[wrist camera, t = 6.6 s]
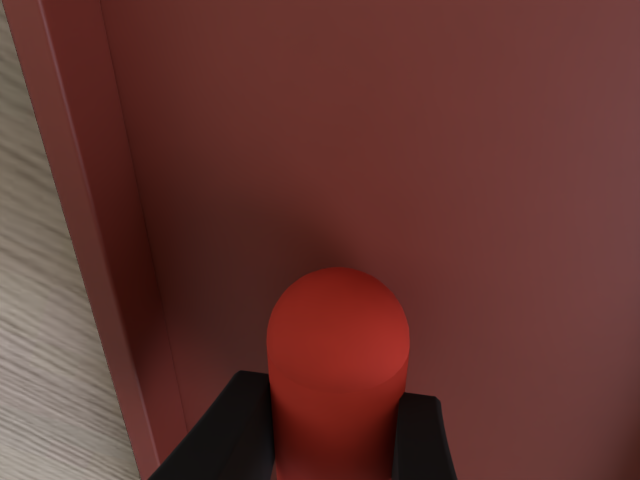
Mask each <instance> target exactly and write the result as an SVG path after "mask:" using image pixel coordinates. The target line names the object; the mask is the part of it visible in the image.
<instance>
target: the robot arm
mask: <svg viewBox="0 0 640 480" xmlns="http://www.w3.org/2000/svg"><path fill="white" fill-rule="evenodd" d="M274 461H275V447H274V434H273V421H272V408H271V395H270V382H269V374H266V373H259V372H251V371H244V370H239V371H238V372H237V373H235V374H234V375H233V377H232V378H231V379H230V381H229V382H228V384H227V385H226V386H225V388H224V389H223V390H222V392H221V393H220V394H219V395H218V397H217V398H216V399H215V401H214V402H213V403H212V404H211V406H210V407H209V408H208V410H207V411H206V412H205V413H204V415H203V416H202V417H201V418H200V419H199V421H198V422H197V423H196V424H195V426H194V427H193V428H192V429H191V430H190V432H189V433H188V434H187V435H186V436H185V437H184V439H183V440H182V441H181V442H180V443H179V444H178V445H177V447H176V448H175V449H174V450H173V451H172V452H171V454H170V455H169V456H168V457H167V458H166V459H165V460H164V462H163V463H162V464H161V465H160V466H159V467H158V468H157V470H156V471H155V472H154V473H153V474H152V475H151V476H150V477H149V478H148V479H147V480H270V479H271V474H272V470H273V465H274ZM391 480H458V479H457V476H456V472H455V469H454V465H453V461H452V457H451V453H450V450H449V445H448V441H447V437H446V432H445V427H444V421H443V415H442V408H441V402H440V400H439V399H438V398H437V397H436V396H429V395H422V394H414V393H407V392H404V393H403V395H402V396H401V398H400V399H399V407H398V417H397V427H396V436H395V446H394V456H393V465H392V475H391Z"/></svg>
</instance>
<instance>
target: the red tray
mask: <svg viewBox="0 0 640 480" xmlns="http://www.w3.org/2000/svg"><path fill="white" fill-rule="evenodd" d="M2 3H3V7H4V10H5V14H6V17H7V20H8V24H9V27H10V31H11V34H12V38H13V41H14V44H15V48H16V51H17V55H18V58H19V62H20V65H21V68H22V72H23V75H24V79H25V82H26V86H27V89H28V92H29V96H30V99H31V103H32V106H33V110H34V113H35V117H36V120H37V123H38V127H39V130H40V134H41V137H42V141H43V144H44V147H45V151H46V154H47V158H48V161H49V165H50V168H51V171H52V175H53V178H54V182H55V185H56V189H57V192H58V195H59V199H60V202H61V206H62V209H63V213H64V216H65V219H66V223H67V226H68V230H69V233H70V237H71V240H72V244H73V247H74V250H75V254H76V257H77V261H78V264H79V268H80V271H81V274H82V278H83V281H84V285H85V288H86V292H87V295H88V298H89V302H90V305H91V309H92V312H93V316H94V319H95V322H96V326H97V329H98V333H99V336H100V340H101V343H102V346H103V350H104V353H105V357H106V360H107V364H108V367H109V371H110V374H111V377H112V381H113V384H114V388H115V391H116V395H117V398H118V401H119V405H120V408H121V412H122V415H123V419H124V422H125V425H126V429H127V432H128V436H129V439H130V443H131V446H132V449H133V453H134V456H135V460H136V463H137V467H138V470H139V474H140V477H141V480H147V479H148V478H149V477H150V476H151V475H152V474H153V473H154V472H155V471H156V470H157V468H158V467H159V466H160V465H161V464H162V463H163V462H164V460H165V459H166V458H167V457H168V456H169V455H170V454H171V452H172V451H173V450H174V449H175V448H176V447H177V445H178V444H179V443H180V442H181V441H182V440H183V439H184V437H185V436H186V435H187V434H188V433H189V432H190V430H191V429H192V428H193V427H194V426H195V424H196V423H197V422H198V421H199V419H200V418H201V417H202V416H203V415H204V413H205V412H206V411H207V410H208V408H209V407H210V406H211V404H212V403H213V402H214V401H215V399H216V398H217V397H218V395H219V394H220V393H221V392H222V390H223V389H224V388H225V386H226V385H227V384H228V382H229V381H230V379H231V378H232V377H233V375H234V374H235V373H237V372H238V371H239V370H244V371H251V372H259V373H266V374H269V370H268V357H267V344H266V341H267V327H268V323H269V319H270V316H271V313H272V310H273V308H274V306H275V305H276V303H277V301H278V300H279V298H280V297H281V295H282V294H283V293H284V291H285V290H286V289H287V288H288V287H289V286H290V285H292V284H293V283H294V282H295V281H297V280H298V279H299V278H301V277H302V276H304V275H306V274H308V273H311V272H314V271H317V270H320V269H325V268H331V267H345V268H352V269H355V270H359V271H362V272H365V273H367V274H369V275H371V276H373V277H375V278H376V279H378V280H379V281H381V282H382V283H383V284H384V285H385V286H386V287H387V288H388V289H389V290H390V291H392V292H393V294H394V295H395V297H396V298H397V300H398V301H399V303H400V305H401V306H402V308H403V310H404V313H405V316H406V319H407V322H408V326H409V337H410V350H409V359H408V368H407V377H406V386H405V392H407V393H414V394H422V395H429V396H436V397H437V398H438V399H439V400H440V402H441V408H442V415H443V421H444V427H445V432H446V437H447V441H448V445H449V450H450V453H451V457H452V461H453V465H454V469H455V472H456V476H457V479H458V480H640V0H2ZM270 480H277V474H276V461H274V465H273V470H272V474H271V479H270Z"/></svg>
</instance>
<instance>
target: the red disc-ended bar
mask: <svg viewBox="0 0 640 480" xmlns="http://www.w3.org/2000/svg"><path fill="white" fill-rule="evenodd" d="M266 344H267V357H268V370H269V382H270V395H271V408H272V421H273V434H274V447H275V461H276V474H277V480H391V475H392V465H393V456H394V446H395V436H396V427H397V417H398V407H399V399H400V398H401V396H402V395H403V393H404V392H405V386H406V377H407V368H408V359H409V350H410V337H409V326H408V322H407V319H406V316H405V313H404V310H403V308H402V306H401V305H400V303H399V301H398V300H397V298H396V297H395V295H394V294H393V292H392V291H390V290H389V289H388V288H387V287H386V286H385V285H384V284H383V283H382V282H381V281H379V280H378V279H376V278H375V277H373V276H371V275H369V274H367V273H365V272H362V271H359V270H355V269H352V268H345V267H331V268H325V269H320V270H317V271H314V272H311V273H308V274H306V275H304V276H302V277H301V278H299V279H298V280H297V281H295V282H294V283H293V284H292V285H290V286H289V287H288V288H287V289H286V290H285V291H284V293H283V294H282V295H281V297H280V298H279V300H278V301H277V303H276V305H275V306H274V308H273V310H272V313H271V316H270V319H269V323H268V327H267V341H266Z"/></svg>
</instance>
